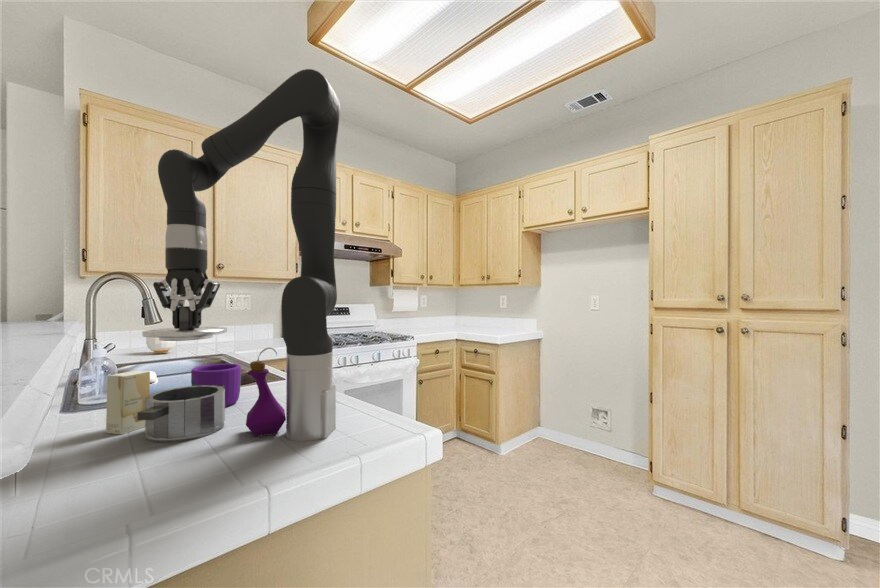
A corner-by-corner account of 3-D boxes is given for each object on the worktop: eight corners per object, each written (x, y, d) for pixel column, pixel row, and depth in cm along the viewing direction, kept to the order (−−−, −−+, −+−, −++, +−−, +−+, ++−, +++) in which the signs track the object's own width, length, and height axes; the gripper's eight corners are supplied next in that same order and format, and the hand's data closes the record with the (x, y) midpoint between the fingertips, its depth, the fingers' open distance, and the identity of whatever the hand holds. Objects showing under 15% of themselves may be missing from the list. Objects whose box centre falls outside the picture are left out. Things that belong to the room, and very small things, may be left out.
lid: (239, 334, 89) (239, 305, 89) (200, 342, 74) (200, 307, 74) (175, 334, 89) (175, 305, 89) (122, 342, 74) (122, 307, 74)
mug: (246, 404, 101) (246, 367, 101) (196, 414, 93) (196, 373, 93) (227, 392, 113) (227, 359, 113) (182, 399, 105) (182, 363, 105)
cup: (139, 353, 187) (139, 333, 187) (161, 349, 199) (161, 331, 199) (161, 354, 185) (161, 334, 185) (182, 350, 197) (182, 331, 197)
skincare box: (121, 435, 78) (121, 376, 78) (104, 434, 79) (105, 375, 79) (151, 425, 85) (151, 370, 85) (135, 423, 86) (135, 369, 86)
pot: (246, 414, 92) (246, 381, 92) (181, 451, 70) (181, 408, 70) (190, 413, 93) (190, 381, 93) (109, 450, 71) (109, 407, 71)
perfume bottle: (245, 441, 76) (245, 351, 76) (247, 428, 82) (247, 346, 82) (286, 435, 79) (285, 348, 79) (284, 423, 86) (284, 344, 86)
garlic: (158, 383, 125) (158, 372, 125) (132, 387, 120) (132, 375, 120) (157, 379, 131) (157, 368, 131) (131, 382, 126) (131, 371, 126)
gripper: (229, 249, 85) (229, 327, 85) (168, 250, 85) (168, 326, 85) (206, 245, 77) (206, 330, 77) (141, 246, 78) (140, 329, 78)
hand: (186, 328), depth 81 cm, fingers closed on lid, 2 cm apart
